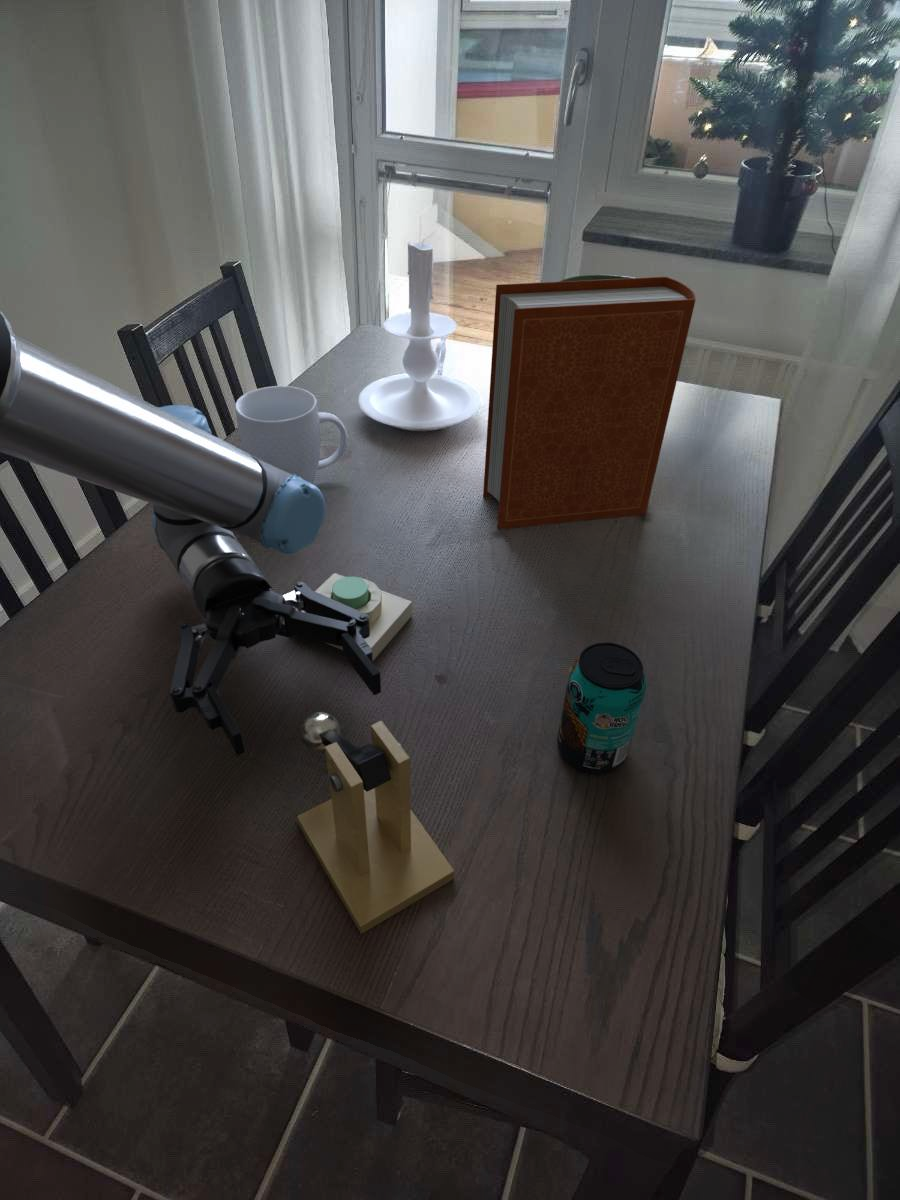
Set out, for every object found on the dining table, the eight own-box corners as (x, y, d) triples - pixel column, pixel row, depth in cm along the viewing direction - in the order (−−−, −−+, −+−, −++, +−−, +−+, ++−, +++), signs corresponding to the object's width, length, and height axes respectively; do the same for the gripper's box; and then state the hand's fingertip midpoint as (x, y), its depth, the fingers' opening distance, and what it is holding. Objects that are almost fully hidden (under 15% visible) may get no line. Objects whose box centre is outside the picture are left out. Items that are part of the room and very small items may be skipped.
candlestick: (498, 389, 137) (510, 221, 119) (463, 455, 119) (471, 269, 101) (390, 373, 141) (386, 209, 123) (340, 435, 123) (326, 252, 105)
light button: (326, 603, 86) (325, 591, 85) (346, 583, 89) (345, 572, 88) (356, 615, 85) (355, 603, 83) (375, 594, 87) (374, 583, 86)
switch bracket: (298, 824, 68) (279, 724, 59) (385, 779, 72) (380, 680, 63) (361, 934, 61) (350, 840, 52) (454, 878, 65) (460, 781, 56)
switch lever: (301, 752, 70) (289, 717, 69) (336, 736, 71) (325, 701, 70) (360, 803, 57) (347, 761, 56) (402, 782, 59) (389, 741, 58)
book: (497, 529, 104) (515, 309, 84) (483, 497, 110) (496, 284, 90) (652, 513, 108) (703, 299, 88) (630, 482, 114) (673, 276, 94)
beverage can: (559, 716, 79) (574, 632, 71) (627, 727, 78) (650, 643, 70) (553, 771, 74) (569, 686, 66) (626, 783, 73) (651, 698, 65)
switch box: (291, 629, 88) (287, 603, 85) (335, 586, 94) (333, 560, 91) (372, 662, 84) (370, 636, 81) (412, 615, 90) (412, 589, 88)
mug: (340, 457, 118) (334, 377, 109) (359, 494, 110) (354, 411, 101) (243, 472, 113) (228, 390, 105) (255, 512, 106) (240, 427, 97)
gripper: (333, 574, 90) (427, 687, 76) (117, 652, 79) (183, 799, 66) (328, 522, 85) (428, 633, 71) (97, 597, 74) (164, 744, 61)
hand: (311, 713), depth 69 cm, fingers open, 13 cm apart
